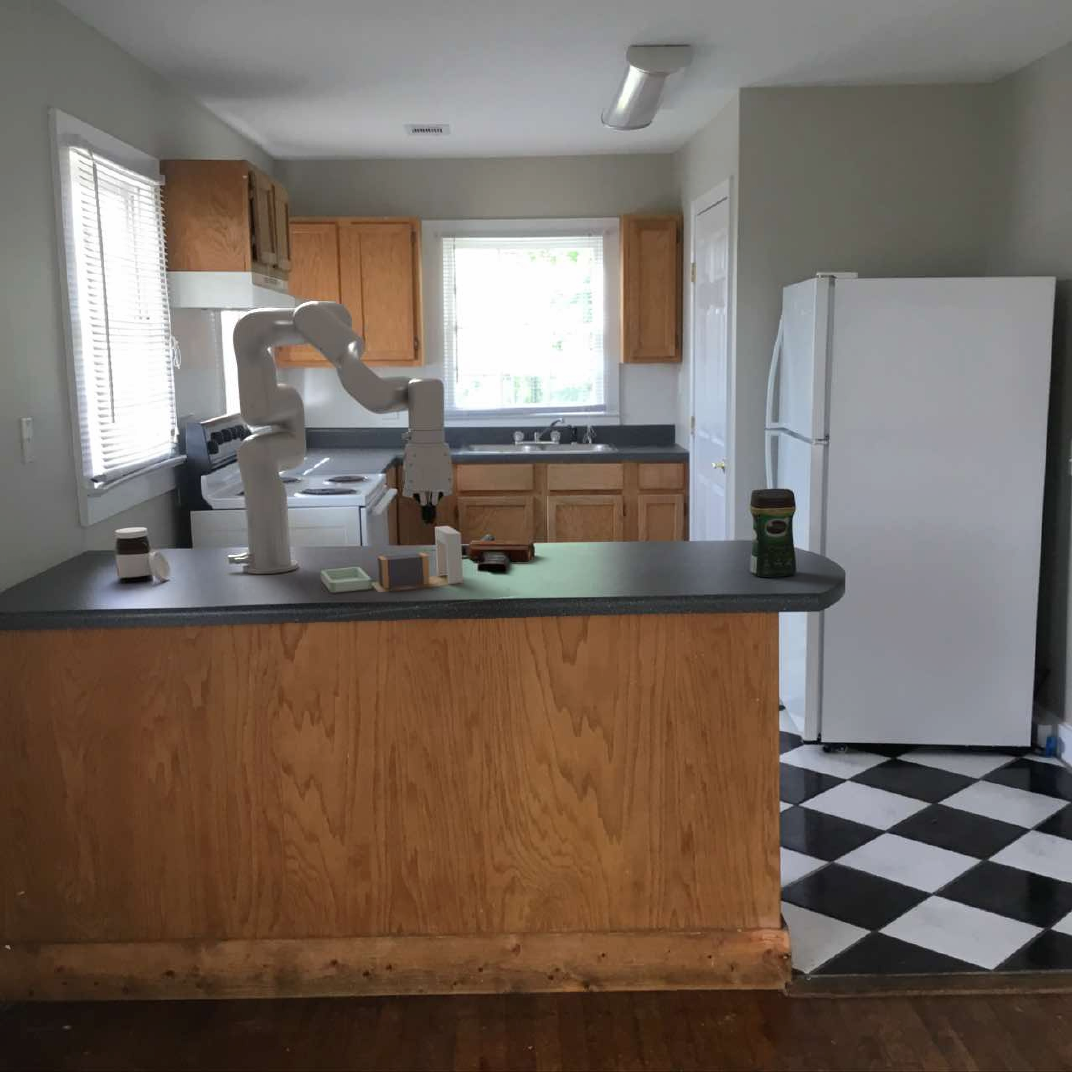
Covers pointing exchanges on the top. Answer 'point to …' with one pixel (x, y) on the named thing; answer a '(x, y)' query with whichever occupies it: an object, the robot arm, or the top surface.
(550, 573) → the top surface
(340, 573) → the tray
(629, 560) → the top surface
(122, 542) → the spread jar
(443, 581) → the holder
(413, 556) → the block
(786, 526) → the coffee jar
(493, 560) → the tool
